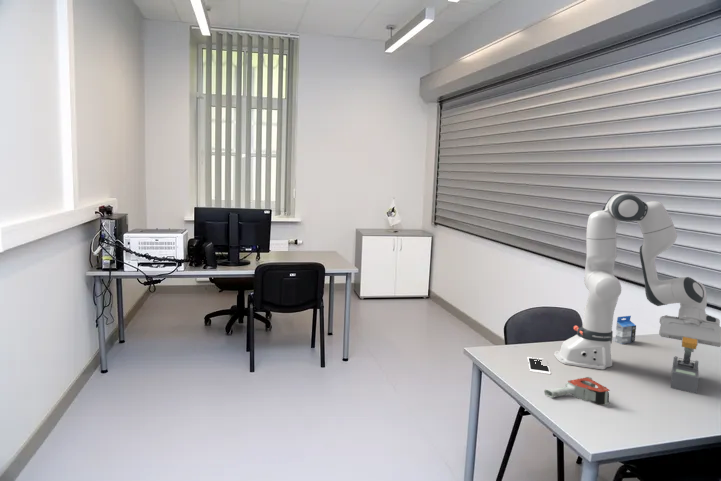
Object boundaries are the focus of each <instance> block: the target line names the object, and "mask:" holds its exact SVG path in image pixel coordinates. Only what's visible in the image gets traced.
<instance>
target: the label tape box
mask: <svg viewBox="0 0 721 481" xmlns="http://www.w3.org/2000/svg"><path fill="white" fill-rule="evenodd" d="M631 316H632V315H625V316H618V317H617V320H616V327H615V329H616V330H615V341H614V342H615V343H618V344H620V345H621V344H622V345H623V344H631V343H635V342H636V332H637V331H636V330H637V325H636V324H635V323H634V322H632V321H631Z"/></svg>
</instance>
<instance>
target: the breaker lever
mask: <svg viewBox="0 0 721 481" xmlns="http://www.w3.org/2000/svg"><path fill="white" fill-rule="evenodd" d="M681 342H682V343H681V347H682V348H684V347H685V351H684V353H683V354H684V355H683V358H682V359H683V361H682V360H678V365H681V366H686V367H690V368H694V363H692V362H690V360H691V357H692V352H691V351H692V349H694V350H697V348H698V347H697V346H698V345H697V339H692V338H687V337H683V340H681Z"/></svg>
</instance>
